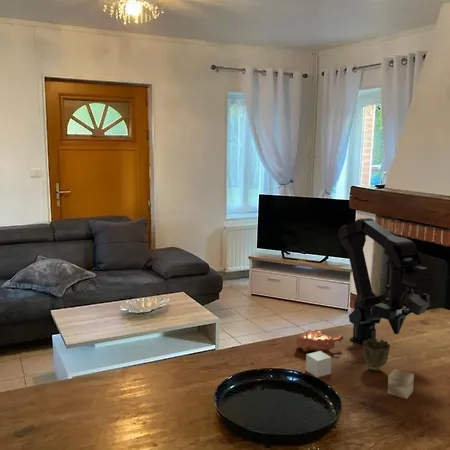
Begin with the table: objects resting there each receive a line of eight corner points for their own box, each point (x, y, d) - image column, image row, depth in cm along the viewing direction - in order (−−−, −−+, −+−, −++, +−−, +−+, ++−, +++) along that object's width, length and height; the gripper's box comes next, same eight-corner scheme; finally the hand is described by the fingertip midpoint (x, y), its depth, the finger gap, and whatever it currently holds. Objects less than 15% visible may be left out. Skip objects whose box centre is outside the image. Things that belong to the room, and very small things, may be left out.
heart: (304, 340, 149) (349, 336, 153) (288, 329, 160) (330, 325, 164) (304, 359, 149) (349, 355, 153) (288, 347, 161) (330, 343, 165)
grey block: (305, 370, 143) (306, 354, 142) (319, 367, 145) (320, 350, 144) (316, 377, 138) (317, 360, 137) (331, 374, 141) (331, 357, 140)
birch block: (387, 393, 130) (388, 375, 129) (393, 386, 134) (394, 368, 133) (406, 399, 127) (408, 381, 126) (412, 391, 131) (414, 373, 130)
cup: (358, 371, 142) (360, 345, 140) (364, 361, 148) (365, 336, 147) (385, 377, 138) (387, 350, 137) (390, 367, 145) (392, 341, 143)
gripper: (406, 295, 133) (402, 350, 136) (442, 283, 145) (438, 334, 147) (371, 286, 142) (368, 338, 145) (408, 275, 153) (404, 323, 156)
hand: (396, 333), depth 148 cm, fingers closed
